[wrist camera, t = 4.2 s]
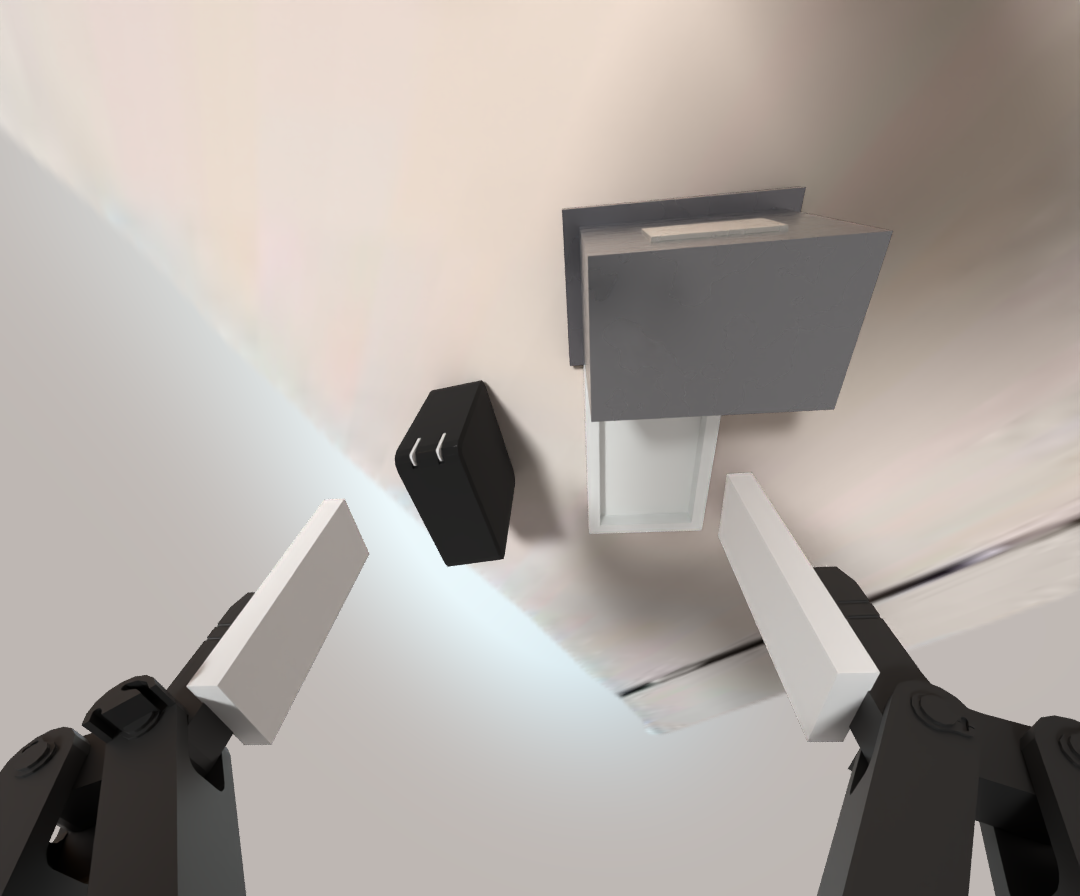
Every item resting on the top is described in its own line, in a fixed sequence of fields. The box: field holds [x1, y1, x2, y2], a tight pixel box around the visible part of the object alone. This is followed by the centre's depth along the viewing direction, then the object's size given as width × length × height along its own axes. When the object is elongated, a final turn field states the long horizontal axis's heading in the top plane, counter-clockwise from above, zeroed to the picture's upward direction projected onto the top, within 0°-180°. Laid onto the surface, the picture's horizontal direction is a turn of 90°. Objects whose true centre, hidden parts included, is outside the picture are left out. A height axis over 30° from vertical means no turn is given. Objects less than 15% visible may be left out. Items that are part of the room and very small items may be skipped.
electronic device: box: [395, 380, 515, 566], centre depth 32 cm, size 4×10×10 cm, turn 13°
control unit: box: [562, 187, 893, 422], centre depth 24 cm, size 10×14×11 cm
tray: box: [583, 365, 721, 534], centre depth 35 cm, size 16×10×2 cm, turn 5°
